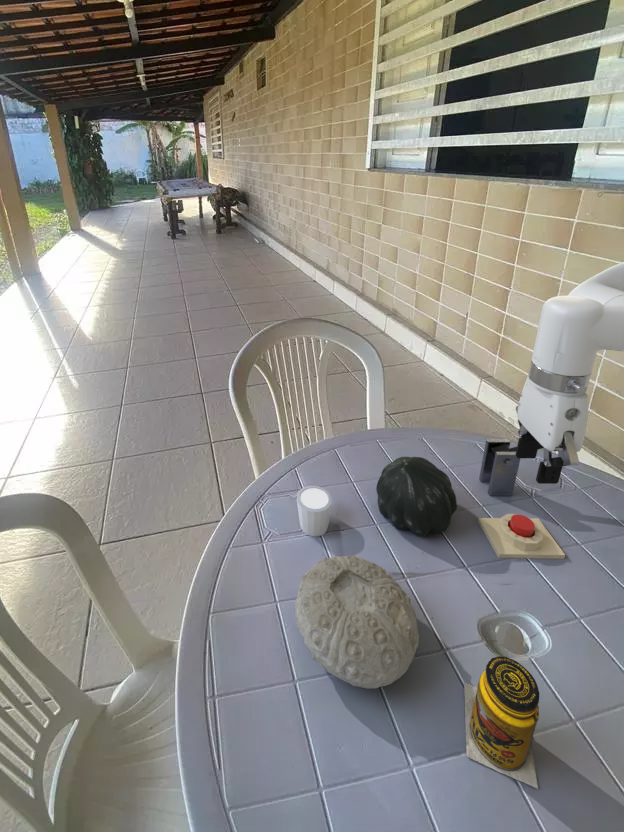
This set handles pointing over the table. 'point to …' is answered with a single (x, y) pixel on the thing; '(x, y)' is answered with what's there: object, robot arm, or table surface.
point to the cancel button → (522, 525)
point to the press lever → (507, 449)
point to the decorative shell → (356, 621)
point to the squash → (416, 496)
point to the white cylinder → (314, 510)
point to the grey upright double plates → (499, 468)
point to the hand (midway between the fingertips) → (535, 468)
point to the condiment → (503, 719)
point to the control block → (519, 540)
